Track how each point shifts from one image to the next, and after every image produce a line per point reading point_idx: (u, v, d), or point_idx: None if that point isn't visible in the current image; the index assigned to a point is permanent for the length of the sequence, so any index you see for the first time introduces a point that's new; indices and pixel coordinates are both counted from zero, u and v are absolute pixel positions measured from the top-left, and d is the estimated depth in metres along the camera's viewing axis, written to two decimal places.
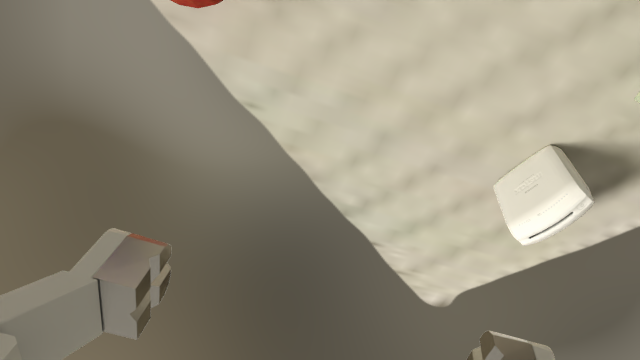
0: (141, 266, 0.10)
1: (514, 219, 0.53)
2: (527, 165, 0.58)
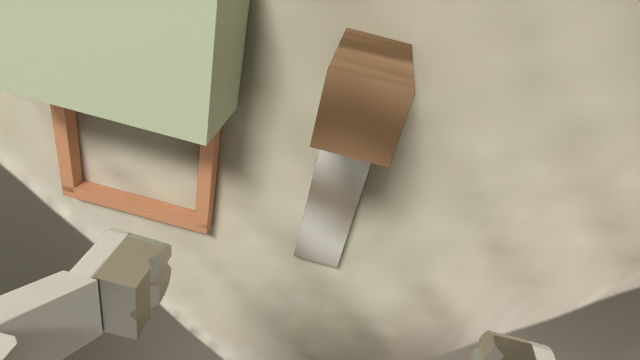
0: (141, 266, 0.10)
1: None
2: None
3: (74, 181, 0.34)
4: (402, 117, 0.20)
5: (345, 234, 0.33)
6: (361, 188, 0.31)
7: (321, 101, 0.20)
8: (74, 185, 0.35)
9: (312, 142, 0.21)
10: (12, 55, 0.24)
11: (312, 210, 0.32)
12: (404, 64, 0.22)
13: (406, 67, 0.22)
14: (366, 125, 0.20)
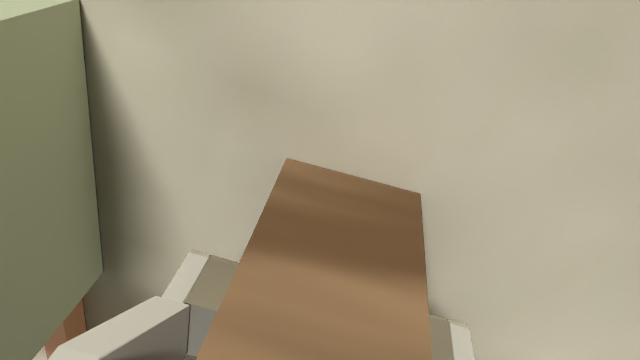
0: None
1: None
2: None
3: None
4: None
5: None
6: None
7: None
8: None
9: None
10: None
11: None
12: (405, 303, 0.09)
13: (412, 321, 0.09)
14: None
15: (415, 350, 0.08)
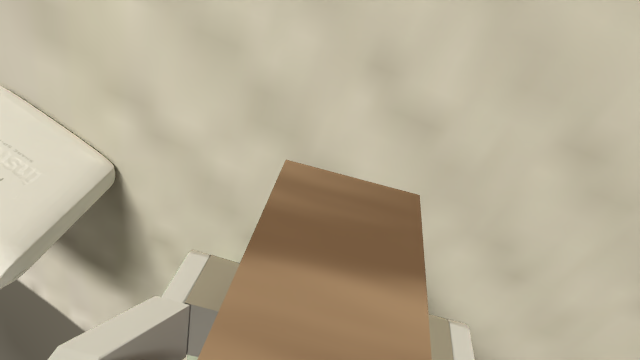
0: None
1: None
2: (55, 141, 0.29)
3: None
4: None
5: None
6: None
7: None
8: None
9: None
10: None
11: None
12: (405, 305, 0.09)
13: (411, 323, 0.09)
14: None
15: (414, 353, 0.08)
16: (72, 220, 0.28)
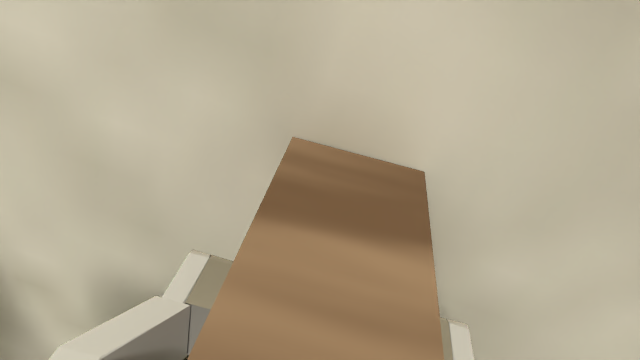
0: None
1: None
2: None
3: None
4: None
5: None
6: None
7: None
8: None
9: None
10: None
11: None
12: (412, 268, 0.09)
13: (418, 284, 0.09)
14: None
15: (423, 310, 0.08)
16: None
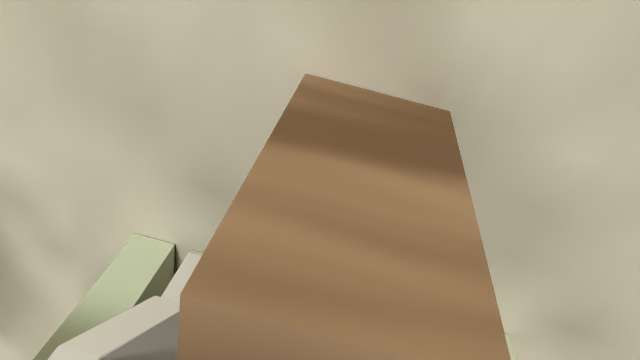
0: None
1: None
2: None
3: None
4: None
5: None
6: None
7: None
8: None
9: None
10: None
11: None
12: (447, 196, 0.08)
13: (455, 211, 0.08)
14: None
15: (462, 235, 0.07)
16: None
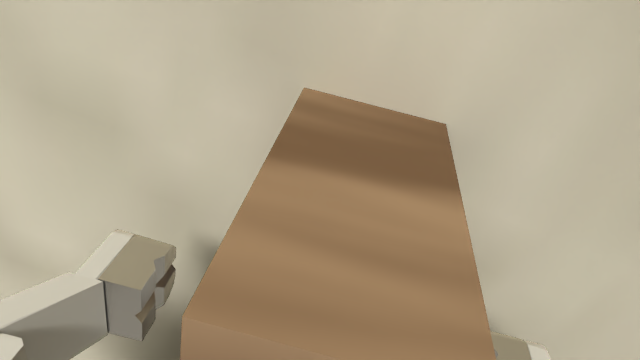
0: (146, 268, 0.10)
1: None
2: None
3: None
4: None
5: None
6: None
7: None
8: None
9: None
10: None
11: None
12: (441, 212, 0.08)
13: (449, 227, 0.08)
14: None
15: (455, 252, 0.07)
16: None
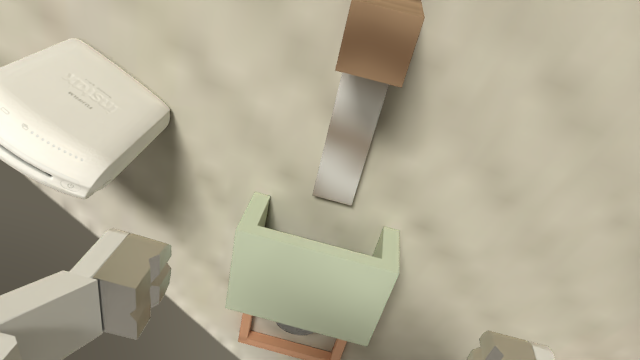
0: (141, 266, 0.10)
1: None
2: (125, 84, 0.35)
3: (248, 334, 0.51)
4: (413, 40, 0.24)
5: (359, 172, 0.37)
6: (374, 127, 0.35)
7: (346, 28, 0.24)
8: (247, 336, 0.51)
9: (337, 66, 0.25)
10: (256, 298, 0.40)
11: (330, 150, 0.36)
12: (413, 2, 0.26)
13: (416, 4, 0.26)
14: (383, 48, 0.24)
15: (417, 6, 0.25)
16: (141, 147, 0.34)
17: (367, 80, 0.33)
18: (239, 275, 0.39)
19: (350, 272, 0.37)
